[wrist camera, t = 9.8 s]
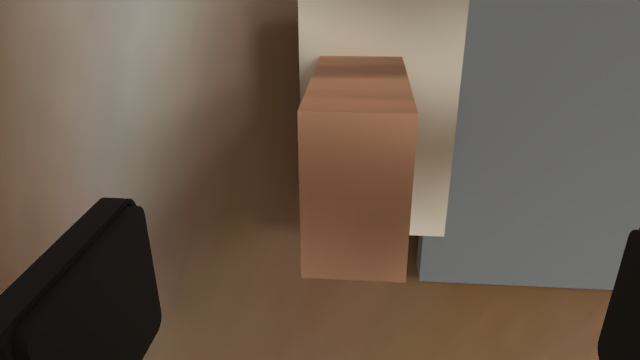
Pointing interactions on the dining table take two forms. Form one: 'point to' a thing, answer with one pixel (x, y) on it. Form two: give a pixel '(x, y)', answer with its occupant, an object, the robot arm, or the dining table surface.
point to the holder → (543, 147)
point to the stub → (375, 130)
